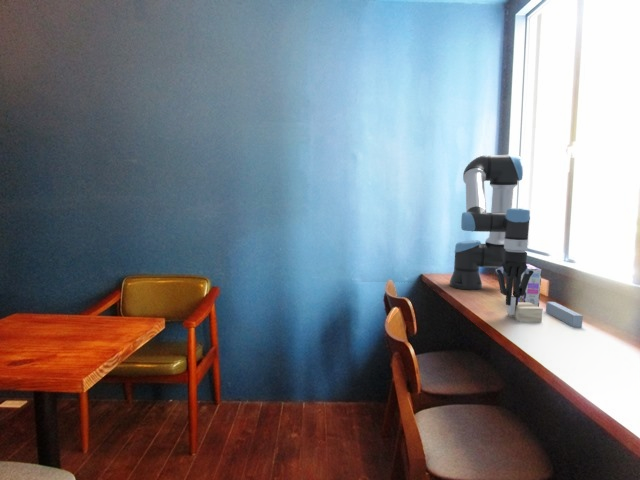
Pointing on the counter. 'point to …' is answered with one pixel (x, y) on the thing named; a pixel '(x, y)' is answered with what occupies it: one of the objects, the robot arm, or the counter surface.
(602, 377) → the counter surface
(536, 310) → the block
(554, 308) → the blue-grey bar
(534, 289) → the candy box
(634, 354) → the counter surface
